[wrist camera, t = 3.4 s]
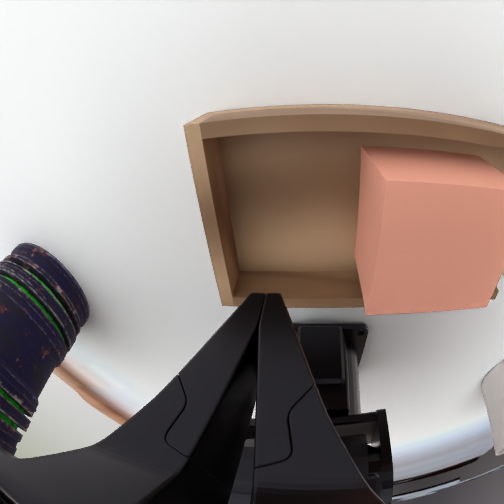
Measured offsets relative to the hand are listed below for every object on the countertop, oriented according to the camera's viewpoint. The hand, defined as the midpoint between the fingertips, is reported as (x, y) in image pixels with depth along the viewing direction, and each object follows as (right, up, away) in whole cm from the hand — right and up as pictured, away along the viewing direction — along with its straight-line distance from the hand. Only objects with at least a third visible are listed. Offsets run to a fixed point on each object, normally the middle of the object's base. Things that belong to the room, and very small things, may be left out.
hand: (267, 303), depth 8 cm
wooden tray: (+9, +4, +4) cm, 11 cm away
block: (+7, +4, +4) cm, 9 cm away
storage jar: (-19, -2, +14) cm, 23 cm away
